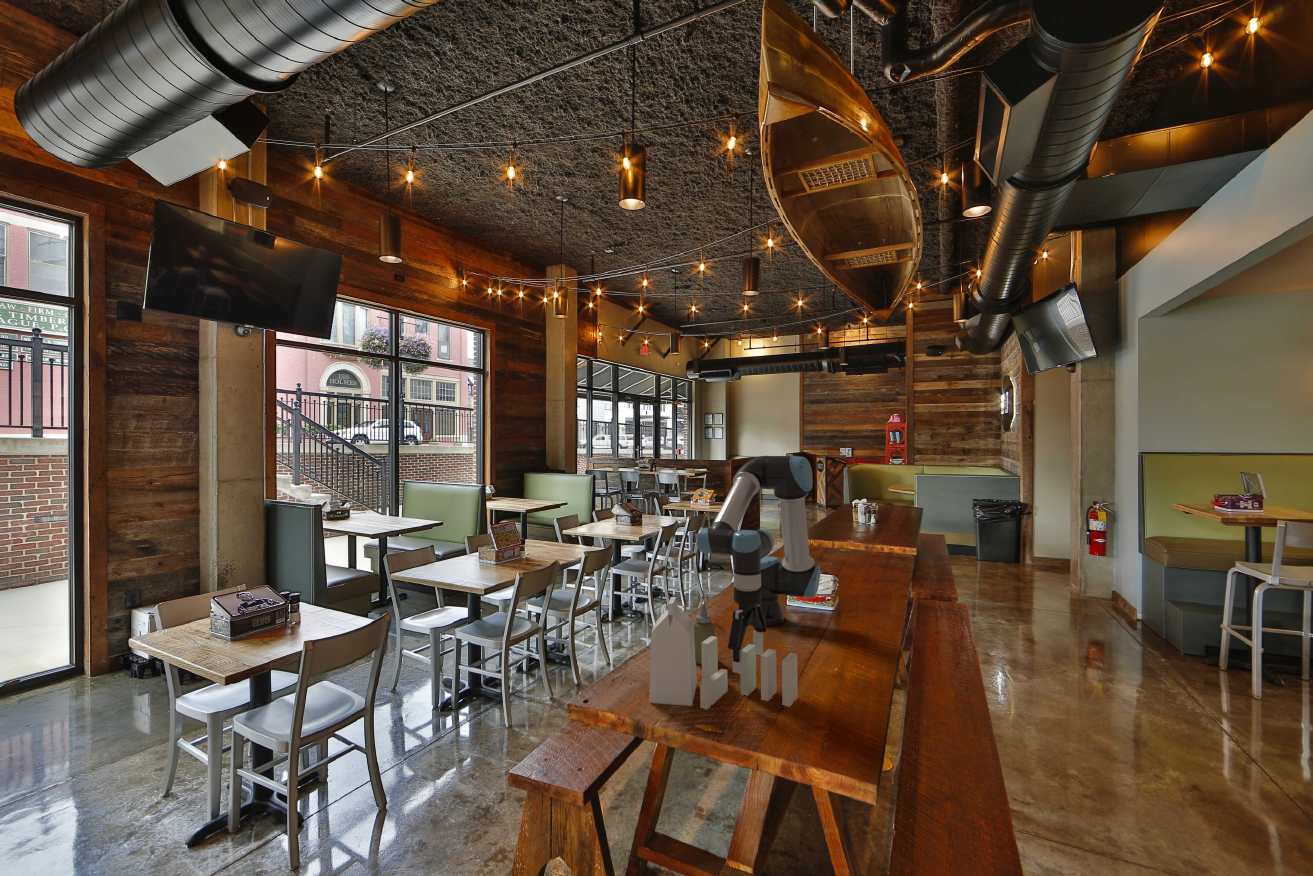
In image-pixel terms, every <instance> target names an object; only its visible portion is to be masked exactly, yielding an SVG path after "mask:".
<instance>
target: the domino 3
mask: <svg viewBox="0 0 1313 876" xmlns="http://www.w3.org/2000/svg"><path fill="white" fill-rule="evenodd" d="M742 649H743V674H739V676H740V677H739V678H740V695H741V696H744V695H746V696H745V697H749V695H750V694H751V693H753V692H754V691H755V690H756V689H757V655H756V645H753V643H751V644H750V643H748V644H746V646H745V647H743V648H742Z"/></svg>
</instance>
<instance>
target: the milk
mask: <svg viewBox="0 0 1313 876" xmlns="http://www.w3.org/2000/svg"><path fill="white" fill-rule="evenodd" d="M677 602H678V601H677V596H676V597H675V596H671V597H670V599H669V601H668V603H667V610H666V611H665V612H664V613H662V614H661V615H660V616H659V618H658V619H657V620H656V621H655V624H654V626H653V628H652V629H651V633H650V634H651V635H650V654H649V655H650V658H649V659H650V660H649V661H650V662H649V665H650V666H649V691H648V692H649V693H648V694H649V696H648V703H649V704H660V705H661V704H663V705H677V706H688V707H689V706H690V707H692V706H693V702H694V698H695V693H696V689H697V685H698V683H697V668H696V667H697V666H696V664H697V663H696V662H695V641H694V624H693V623H694V621H693V619H692V618H691V617H690V616H689V615H688V614H687V613H686V612H685V611H684V610H683V609H682V608H680V606H678V603H677Z"/></svg>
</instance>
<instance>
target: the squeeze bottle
mask: <svg viewBox="0 0 1313 876" xmlns="http://www.w3.org/2000/svg"><path fill="white" fill-rule="evenodd" d="M693 624H694V641H695V662H696V664H698V665H701V666H702V645H701V643H702V642H703V641H705V640H706V639H708V638H709V637H711V636H714V637H716V633H715V625H714V623H713V622H712V618H711V614H709V613H708V612H707V608H706V604H705V603H702V604H700V609H699V613H698V614H696V615H695V622H694V621H693Z"/></svg>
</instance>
